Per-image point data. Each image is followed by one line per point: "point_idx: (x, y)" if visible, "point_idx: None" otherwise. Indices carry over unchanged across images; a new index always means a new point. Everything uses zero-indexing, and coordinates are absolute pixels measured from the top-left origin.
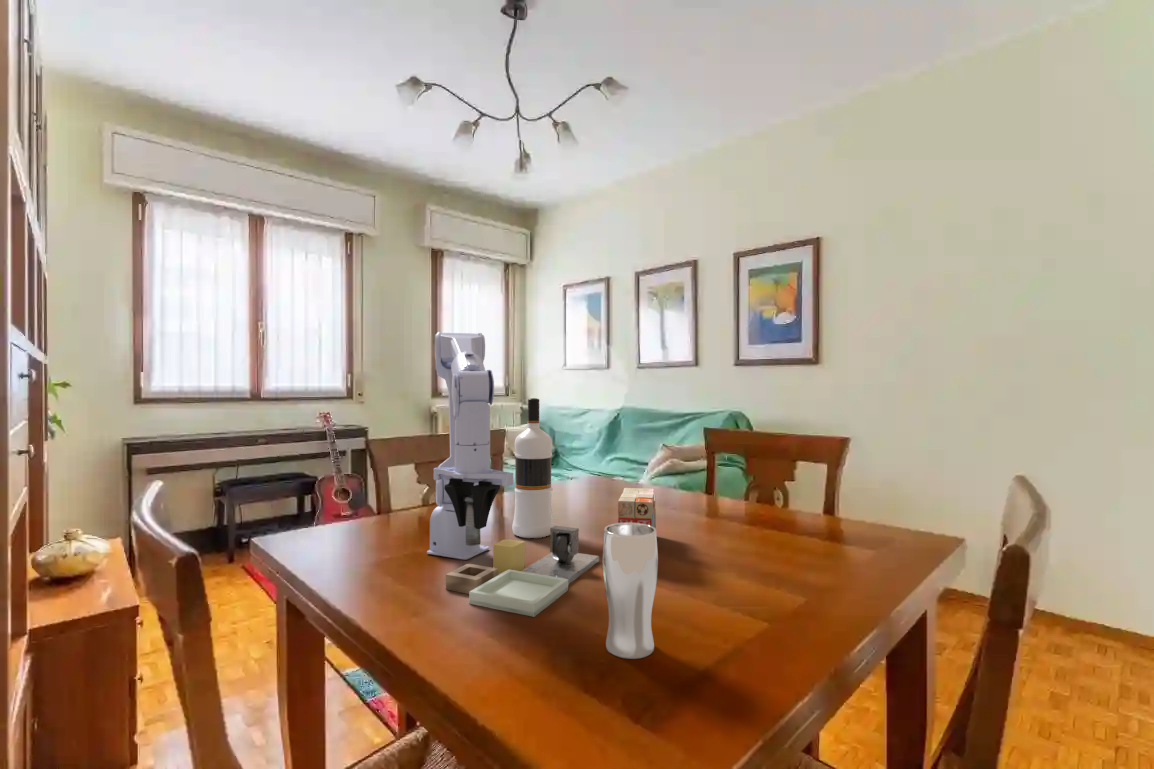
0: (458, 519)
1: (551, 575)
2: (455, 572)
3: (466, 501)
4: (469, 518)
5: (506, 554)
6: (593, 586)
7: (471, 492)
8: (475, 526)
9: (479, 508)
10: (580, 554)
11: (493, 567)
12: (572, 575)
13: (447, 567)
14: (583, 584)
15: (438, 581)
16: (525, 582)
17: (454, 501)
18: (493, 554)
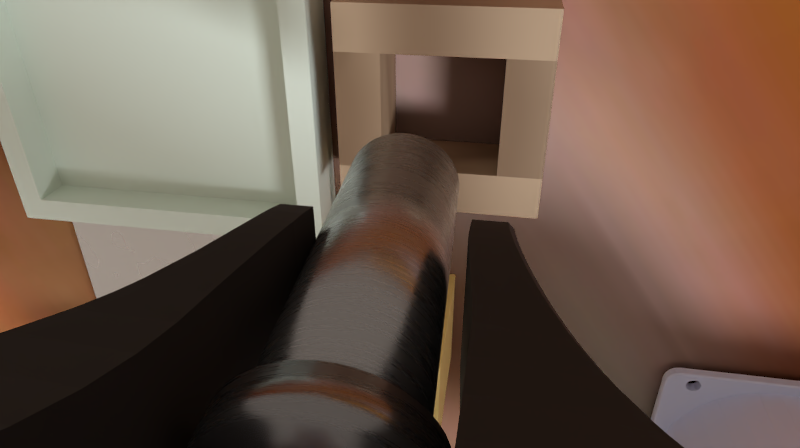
0: (498, 244)
1: (159, 269)
2: (523, 63)
3: (323, 373)
4: (351, 250)
5: None
6: (19, 260)
7: (34, 416)
8: (302, 210)
9: (127, 285)
10: None
11: (452, 288)
12: (95, 294)
13: (722, 270)
14: (60, 266)
15: (667, 81)
16: (220, 185)
17: (535, 365)
18: (445, 329)
